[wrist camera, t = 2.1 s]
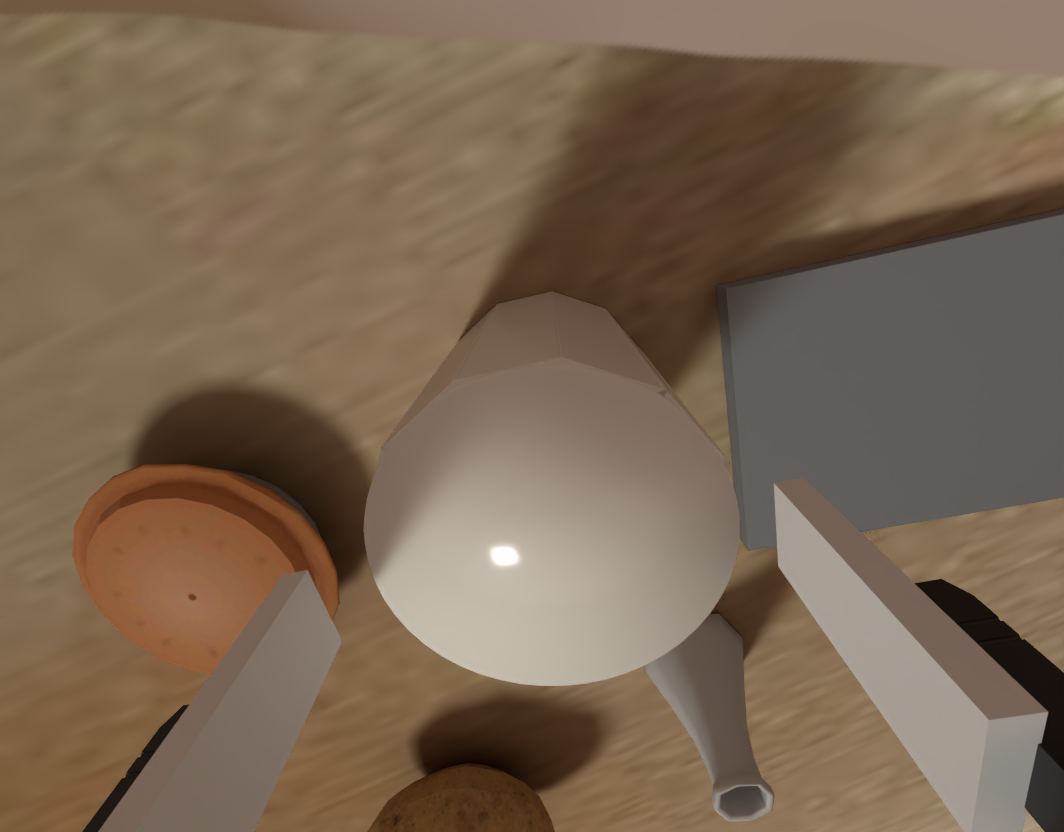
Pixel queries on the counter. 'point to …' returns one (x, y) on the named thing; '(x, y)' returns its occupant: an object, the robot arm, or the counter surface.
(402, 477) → the white cylinder
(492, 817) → the potato
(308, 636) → the robot arm
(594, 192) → the counter surface
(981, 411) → the slate board
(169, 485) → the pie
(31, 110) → the counter surface
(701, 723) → the flask
